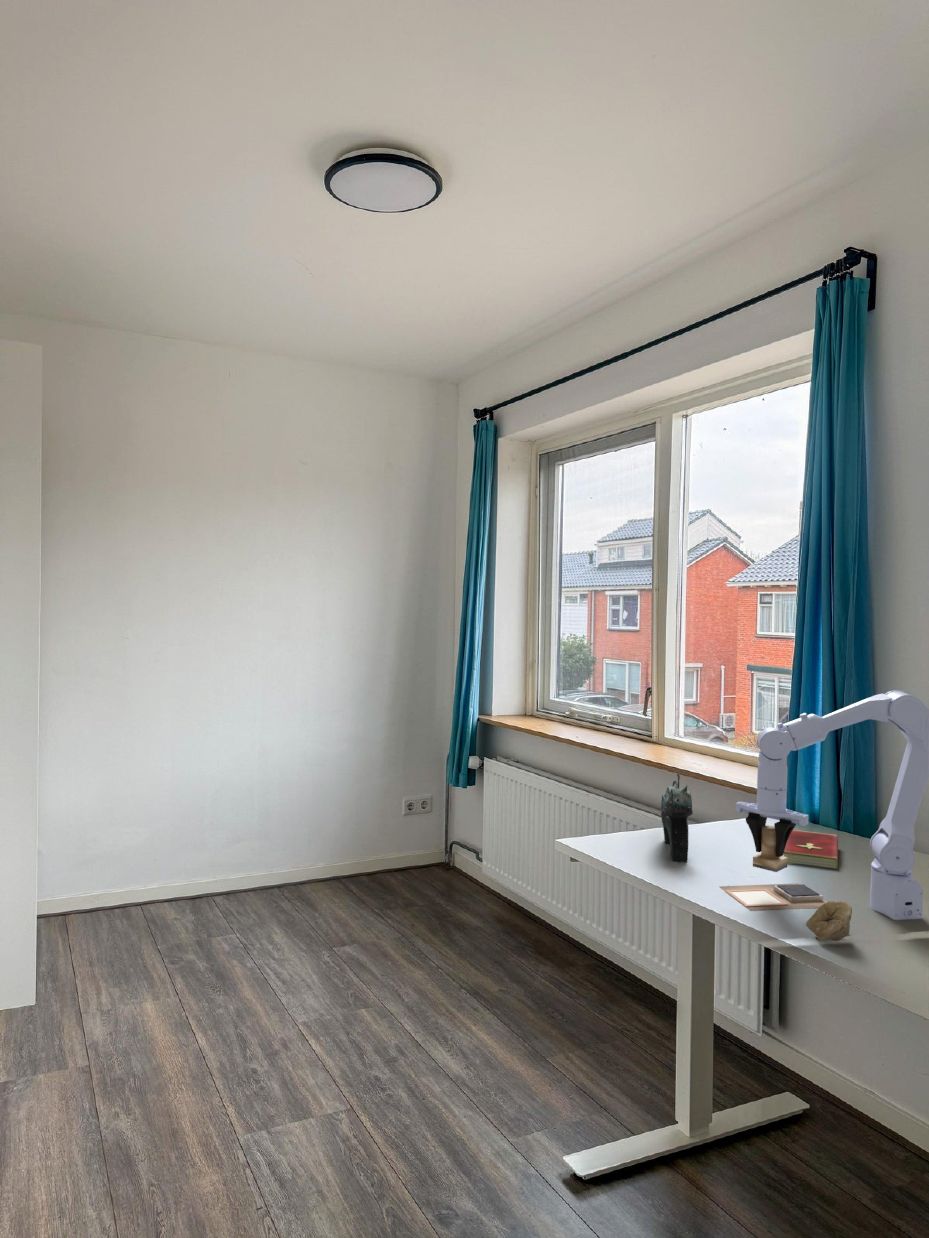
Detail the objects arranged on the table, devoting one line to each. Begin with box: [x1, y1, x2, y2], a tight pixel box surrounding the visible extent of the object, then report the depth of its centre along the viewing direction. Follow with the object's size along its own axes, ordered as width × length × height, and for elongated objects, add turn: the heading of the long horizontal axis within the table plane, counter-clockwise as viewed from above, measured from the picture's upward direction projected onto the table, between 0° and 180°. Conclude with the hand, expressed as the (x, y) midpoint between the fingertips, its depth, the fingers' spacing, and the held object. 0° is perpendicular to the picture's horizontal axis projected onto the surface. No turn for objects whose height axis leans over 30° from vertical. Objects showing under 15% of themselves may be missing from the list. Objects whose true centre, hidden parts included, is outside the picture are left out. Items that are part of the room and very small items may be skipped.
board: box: [718, 883, 828, 912], centre depth 177 cm, size 14×18×1 cm
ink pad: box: [774, 883, 824, 902], centre depth 177 cm, size 7×7×1 cm
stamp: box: [752, 825, 788, 873], centre depth 176 cm, size 5×5×8 cm
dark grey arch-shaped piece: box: [660, 771, 693, 863], centre depth 210 cm, size 20×6×20 cm, turn 173°
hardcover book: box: [783, 829, 839, 870], centre depth 207 cm, size 12×21×4 cm, turn 156°
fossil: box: [805, 900, 853, 941], centre depth 158 cm, size 9×4×10 cm
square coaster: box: [724, 889, 788, 908], centre depth 176 cm, size 9×9×1 cm
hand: (769, 853), depth 176 cm, fingers closed on stamp, 4 cm apart
